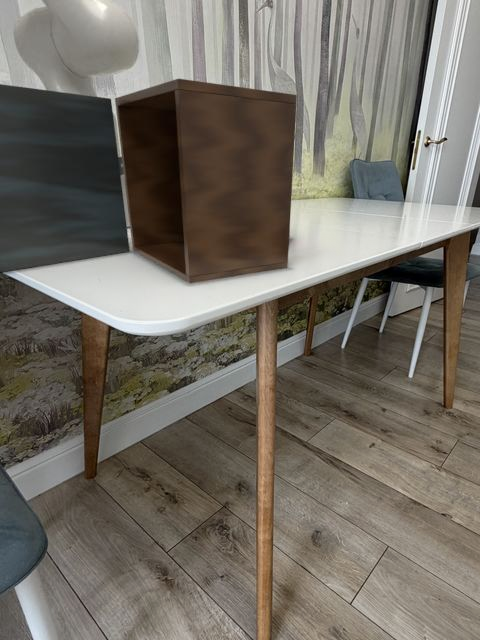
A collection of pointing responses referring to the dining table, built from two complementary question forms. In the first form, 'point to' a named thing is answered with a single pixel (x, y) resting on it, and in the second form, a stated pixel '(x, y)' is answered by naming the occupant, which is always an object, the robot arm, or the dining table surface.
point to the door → (58, 179)
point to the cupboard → (208, 177)
